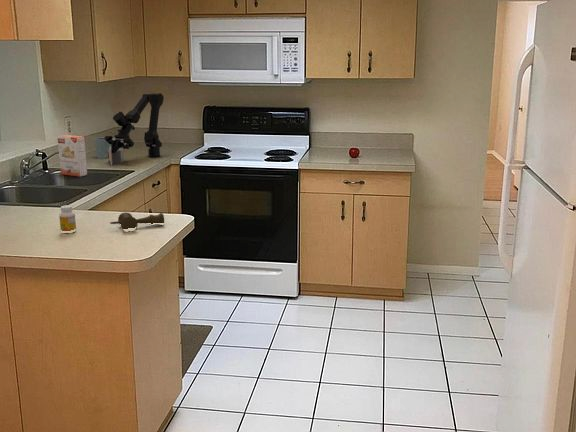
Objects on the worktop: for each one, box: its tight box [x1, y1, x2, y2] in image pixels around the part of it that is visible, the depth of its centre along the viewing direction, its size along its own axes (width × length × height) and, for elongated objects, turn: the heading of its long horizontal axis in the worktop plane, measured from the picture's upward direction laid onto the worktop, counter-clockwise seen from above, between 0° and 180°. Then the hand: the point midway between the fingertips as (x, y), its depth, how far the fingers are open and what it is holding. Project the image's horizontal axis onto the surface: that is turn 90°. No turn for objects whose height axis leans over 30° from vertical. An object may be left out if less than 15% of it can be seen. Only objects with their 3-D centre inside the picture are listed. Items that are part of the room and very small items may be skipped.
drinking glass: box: [93, 136, 111, 160], centre depth 391 cm, size 10×10×12 cm
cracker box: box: [57, 134, 88, 178], centre depth 335 cm, size 14×6×21 cm, turn 62°
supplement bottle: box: [58, 204, 77, 231], centre depth 230 cm, size 5×5×10 cm
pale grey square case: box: [108, 146, 113, 166], centre depth 368 cm, size 10×2×10 cm, turn 16°
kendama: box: [109, 212, 165, 230], centre depth 237 cm, size 6×10×20 cm
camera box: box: [107, 148, 125, 164], centre depth 377 cm, size 8×7×8 cm
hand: (112, 152), depth 364 cm, fingers closed
